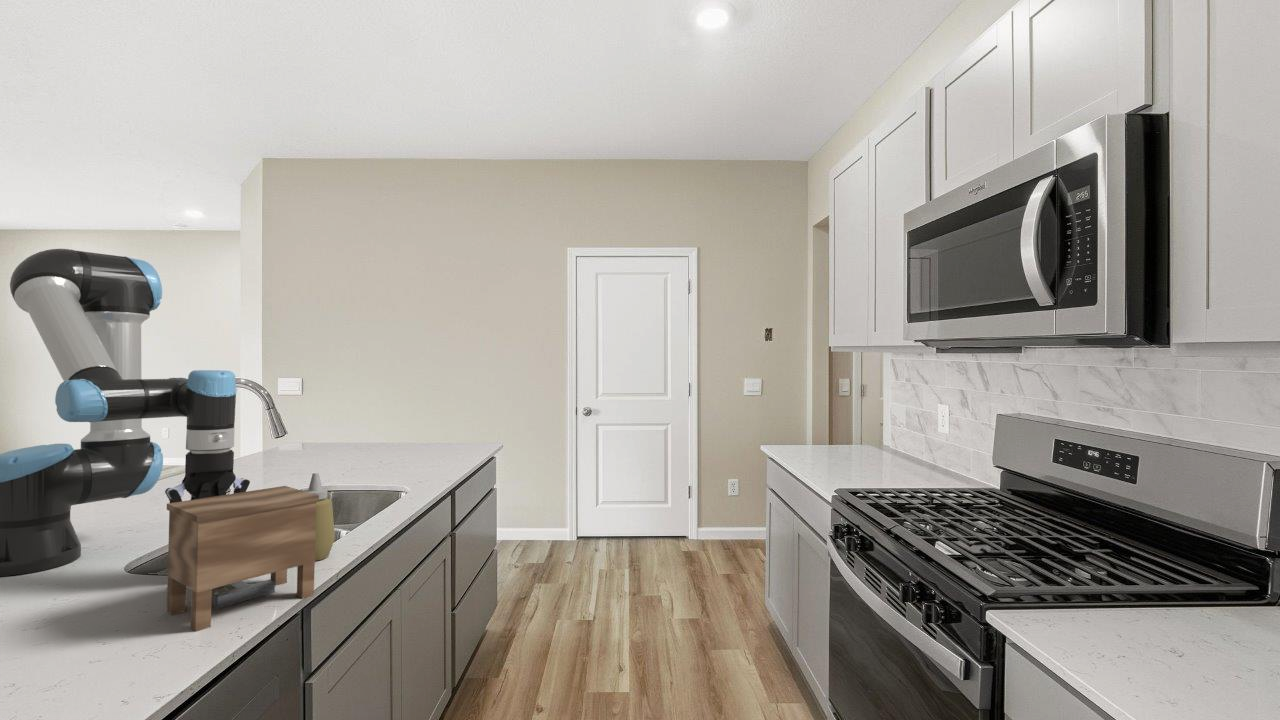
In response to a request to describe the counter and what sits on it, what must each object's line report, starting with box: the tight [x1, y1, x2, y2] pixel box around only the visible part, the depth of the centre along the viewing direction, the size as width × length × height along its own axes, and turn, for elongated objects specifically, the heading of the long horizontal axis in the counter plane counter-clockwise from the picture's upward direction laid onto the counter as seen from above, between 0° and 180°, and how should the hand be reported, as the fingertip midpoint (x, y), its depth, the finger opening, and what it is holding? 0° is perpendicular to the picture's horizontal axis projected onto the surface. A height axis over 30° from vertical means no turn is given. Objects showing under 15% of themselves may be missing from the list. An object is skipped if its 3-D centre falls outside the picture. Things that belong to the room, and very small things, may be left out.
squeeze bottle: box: [304, 472, 336, 562], centre depth 126 cm, size 8×8×18 cm
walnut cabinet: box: [166, 485, 319, 632], centre depth 102 cm, size 13×19×18 cm
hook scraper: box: [213, 578, 276, 609], centre depth 109 cm, size 19×9×11 cm, turn 56°
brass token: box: [214, 587, 229, 595], centre depth 105 cm, size 5×5×1 cm
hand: (206, 571), depth 113 cm, fingers closed on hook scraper, 3 cm apart
